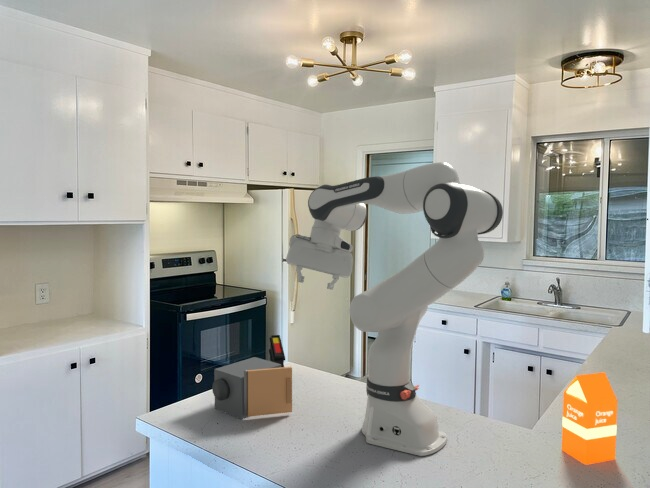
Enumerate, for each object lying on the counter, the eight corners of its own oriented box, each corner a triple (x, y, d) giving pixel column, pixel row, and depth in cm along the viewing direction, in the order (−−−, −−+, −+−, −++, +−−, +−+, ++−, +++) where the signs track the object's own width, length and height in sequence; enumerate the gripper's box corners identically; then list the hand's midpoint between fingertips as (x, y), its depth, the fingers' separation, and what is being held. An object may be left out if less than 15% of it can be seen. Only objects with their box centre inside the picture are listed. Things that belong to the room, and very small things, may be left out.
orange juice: (615, 459, 118) (619, 377, 116) (585, 465, 115) (588, 380, 114) (589, 445, 125) (592, 367, 124) (560, 449, 123) (563, 370, 121)
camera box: (282, 402, 152) (282, 364, 151) (238, 421, 139) (237, 379, 138) (254, 393, 160) (254, 356, 159) (210, 410, 146) (209, 370, 146)
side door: (292, 413, 142) (292, 368, 141) (244, 418, 139) (244, 372, 138) (291, 409, 144) (290, 366, 144) (244, 415, 141) (243, 370, 140)
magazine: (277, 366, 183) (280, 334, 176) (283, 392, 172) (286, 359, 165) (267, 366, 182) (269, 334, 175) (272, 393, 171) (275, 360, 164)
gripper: (294, 230, 144) (284, 277, 142) (358, 247, 150) (350, 292, 147) (288, 234, 150) (279, 278, 147) (350, 250, 156) (342, 293, 153)
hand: (315, 285), depth 147 cm, fingers open, 8 cm apart
